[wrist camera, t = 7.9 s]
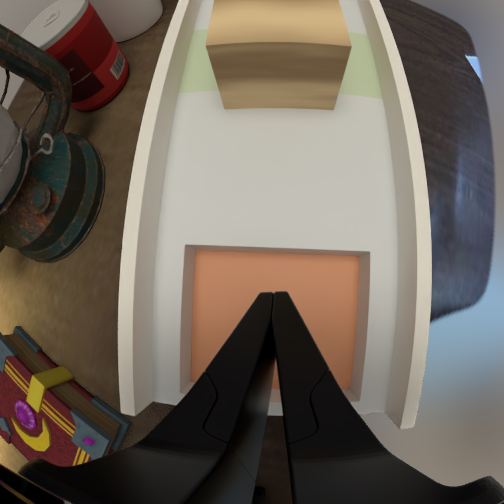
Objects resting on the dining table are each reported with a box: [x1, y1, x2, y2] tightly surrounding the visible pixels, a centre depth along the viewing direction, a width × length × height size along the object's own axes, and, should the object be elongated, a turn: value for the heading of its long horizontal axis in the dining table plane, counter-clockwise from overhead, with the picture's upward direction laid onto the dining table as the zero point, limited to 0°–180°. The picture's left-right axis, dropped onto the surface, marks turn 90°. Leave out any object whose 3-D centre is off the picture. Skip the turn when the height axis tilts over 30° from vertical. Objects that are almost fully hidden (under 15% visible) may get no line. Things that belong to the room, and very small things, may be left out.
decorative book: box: [0, 326, 131, 466], centre depth 20 cm, size 11×16×5 cm
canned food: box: [21, 0, 129, 111], centre depth 20 cm, size 8×8×11 cm
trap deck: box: [118, 0, 432, 429], centre depth 20 cm, size 40×18×6 cm, turn 177°
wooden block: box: [206, 0, 352, 110], centre depth 17 cm, size 12×8×7 cm, turn 179°
